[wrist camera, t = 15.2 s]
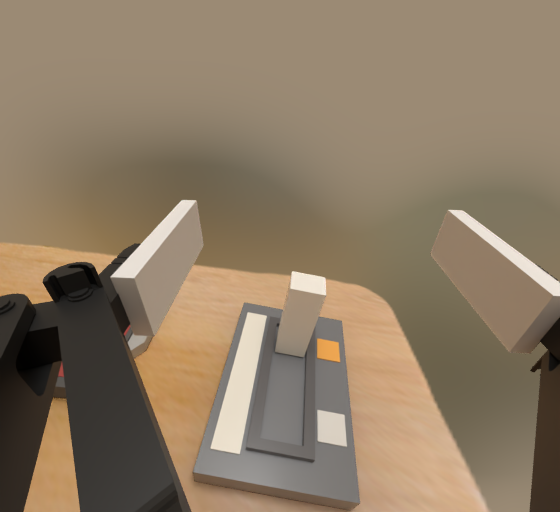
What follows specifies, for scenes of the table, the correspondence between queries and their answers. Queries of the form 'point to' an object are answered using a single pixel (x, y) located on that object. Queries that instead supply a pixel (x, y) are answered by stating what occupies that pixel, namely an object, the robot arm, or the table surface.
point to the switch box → (282, 417)
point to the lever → (300, 313)
